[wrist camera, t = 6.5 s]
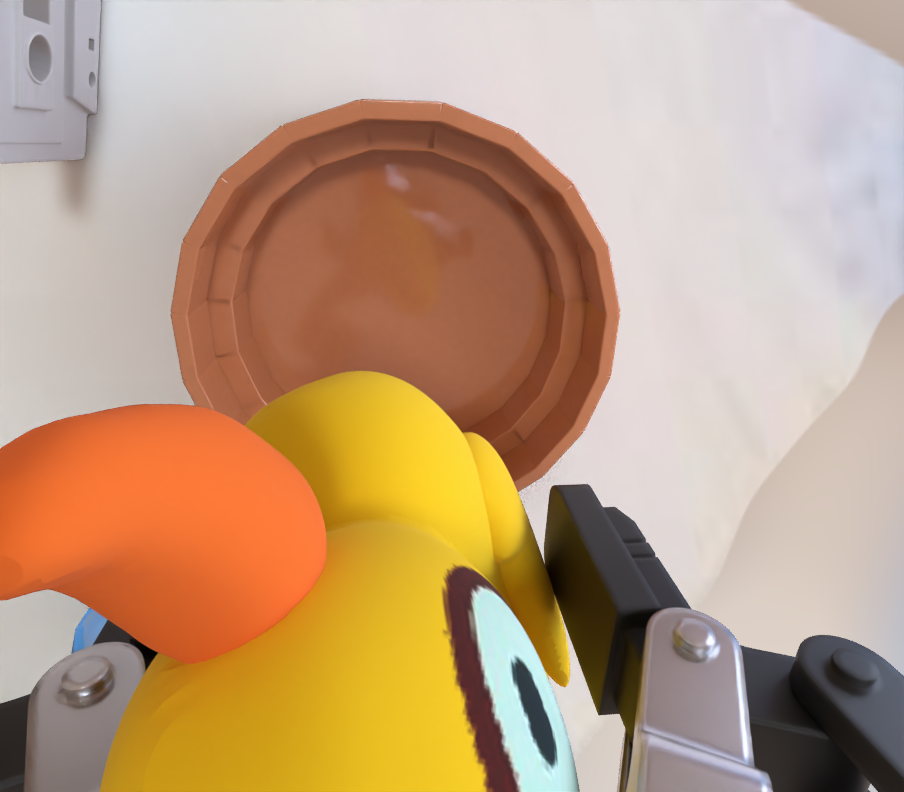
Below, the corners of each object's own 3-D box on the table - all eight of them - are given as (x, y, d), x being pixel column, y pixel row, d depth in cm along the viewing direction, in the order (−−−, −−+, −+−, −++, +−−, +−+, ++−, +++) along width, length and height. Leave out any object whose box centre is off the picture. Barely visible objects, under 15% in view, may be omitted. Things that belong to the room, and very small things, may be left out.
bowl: (241, 468, 30) (210, 533, 25) (187, 102, 23) (128, 91, 18) (559, 460, 31) (590, 520, 26) (599, 116, 24) (651, 108, 19)
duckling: (143, 303, 11) (-887, 944, 2) (386, 189, 11) (373, 396, 2) (389, 663, 16) (388, 1355, 7) (566, 593, 16) (818, 1224, 6)
